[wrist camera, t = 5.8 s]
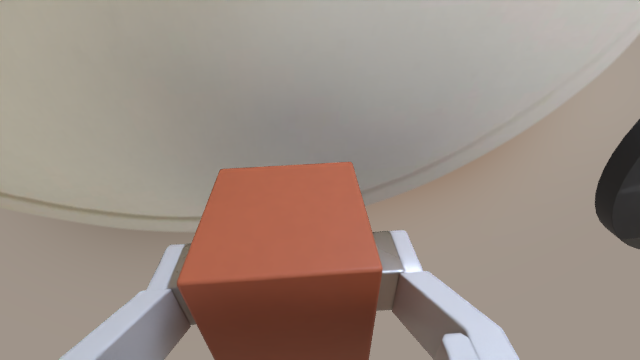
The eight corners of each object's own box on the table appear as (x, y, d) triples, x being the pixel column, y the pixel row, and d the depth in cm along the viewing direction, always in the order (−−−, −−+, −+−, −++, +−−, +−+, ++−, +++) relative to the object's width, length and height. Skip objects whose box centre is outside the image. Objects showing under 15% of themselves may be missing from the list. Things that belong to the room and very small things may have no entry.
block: (352, 160, 10) (384, 269, 6) (348, 249, 12) (369, 363, 9) (219, 168, 10) (173, 284, 6) (243, 256, 12) (220, 375, 9)
